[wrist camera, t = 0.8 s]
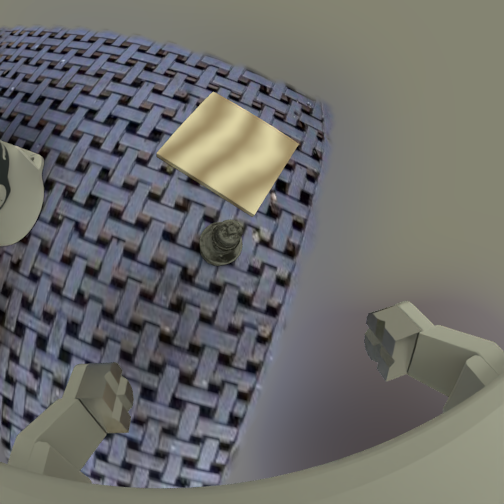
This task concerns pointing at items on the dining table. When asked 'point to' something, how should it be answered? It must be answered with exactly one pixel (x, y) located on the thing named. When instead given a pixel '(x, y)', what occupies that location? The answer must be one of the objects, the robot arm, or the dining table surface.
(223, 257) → the weathered chess pawn
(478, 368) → the robot arm
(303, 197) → the dining table surface
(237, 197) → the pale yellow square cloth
